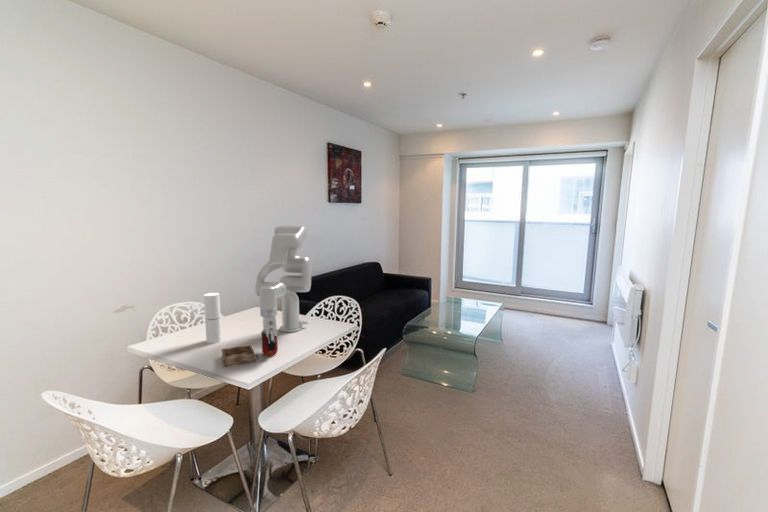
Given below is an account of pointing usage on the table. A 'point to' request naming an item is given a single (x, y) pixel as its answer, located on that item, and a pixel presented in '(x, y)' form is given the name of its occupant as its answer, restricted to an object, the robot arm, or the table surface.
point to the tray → (238, 355)
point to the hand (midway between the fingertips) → (269, 346)
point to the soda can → (265, 345)
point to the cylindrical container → (212, 317)
